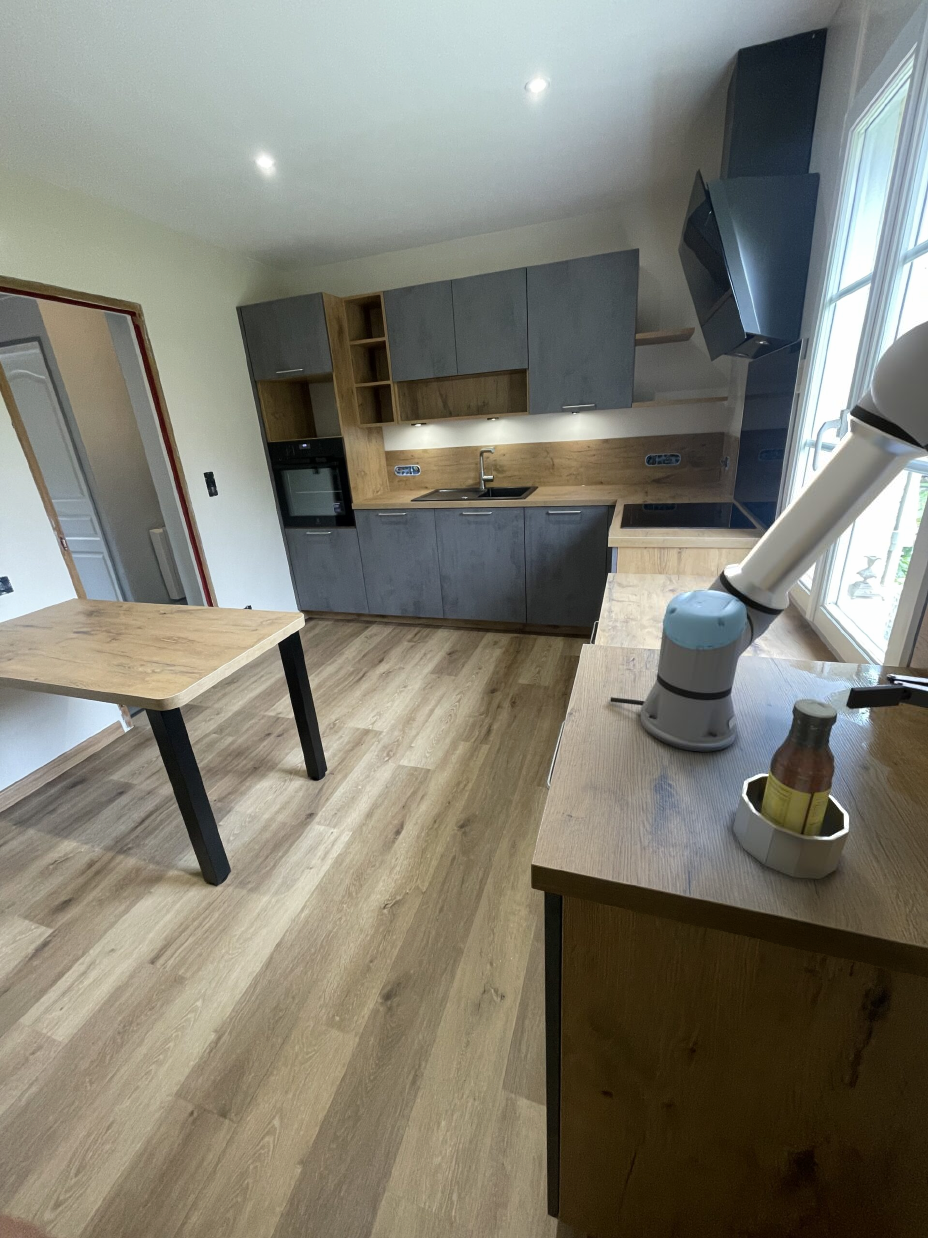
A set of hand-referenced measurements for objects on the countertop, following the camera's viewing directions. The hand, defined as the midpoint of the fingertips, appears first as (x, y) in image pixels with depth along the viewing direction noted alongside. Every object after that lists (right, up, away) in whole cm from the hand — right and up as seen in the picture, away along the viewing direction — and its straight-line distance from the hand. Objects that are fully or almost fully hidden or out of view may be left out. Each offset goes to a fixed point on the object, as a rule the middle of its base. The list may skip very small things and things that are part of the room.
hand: (897, 728), depth 56 cm
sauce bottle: (-10, -16, +6) cm, 19 cm away
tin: (-10, -16, +6) cm, 19 cm away
